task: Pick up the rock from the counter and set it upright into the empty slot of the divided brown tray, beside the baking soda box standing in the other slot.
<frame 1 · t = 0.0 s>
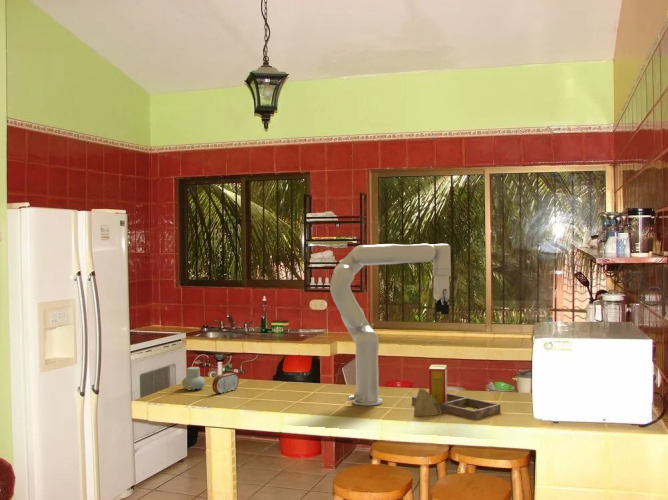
hand: (442, 312, 297), 37 cm above the table, tool pointing down, fingers open, 9 cm apart
divided brown tray: (454, 407, 284), on the table
tin: (226, 392, 319), on the table
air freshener: (193, 389, 326), on the table
baking soda box: (438, 404, 291), resting in divided brown tray
rock: (427, 415, 273), on the table
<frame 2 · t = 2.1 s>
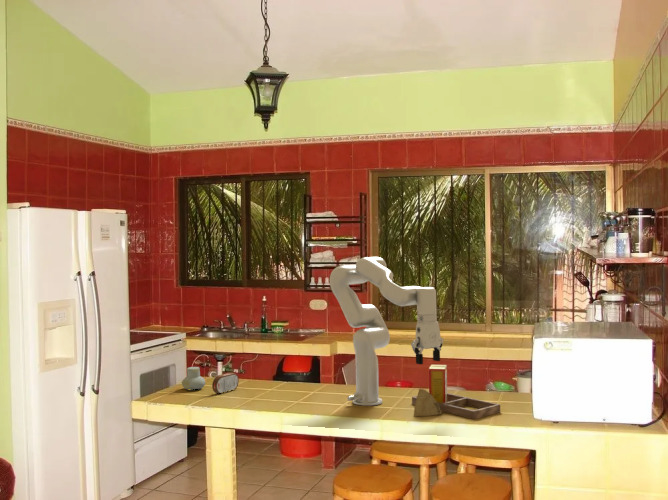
hand: (428, 362, 273), 21 cm above the table, tool pointing down, fingers open, 9 cm apart
nothing on the table moved.
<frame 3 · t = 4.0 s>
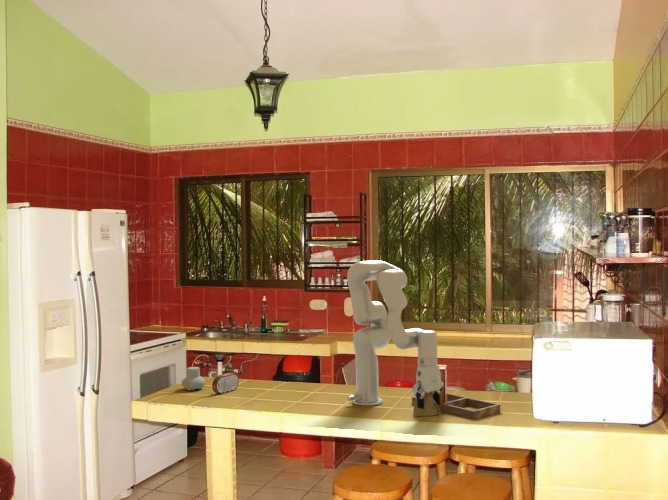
hand: (428, 406, 273), 3 cm above the table, tool pointing down, fingers closed on rock, 8 cm apart
rock: (427, 415, 273), on the table, touching gripper
everything else where it was.
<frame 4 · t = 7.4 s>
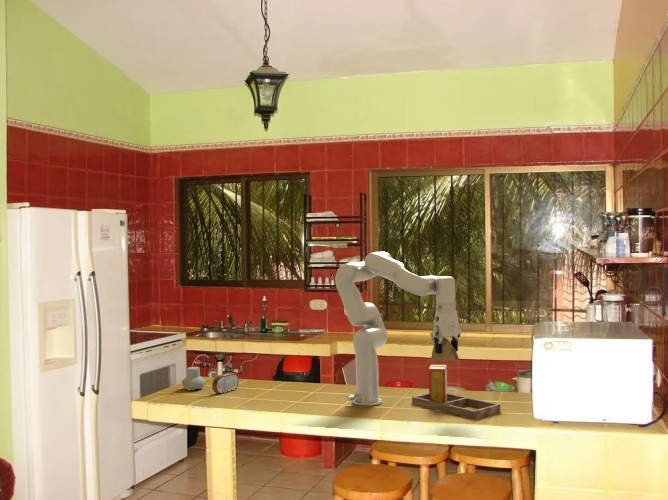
hand: (446, 351, 275), 24 cm above the table, tool pointing down, fingers closed on rock, 8 cm apart
rock: (445, 361, 275), point 21 cm above the table, touching gripper
everything else where it was.
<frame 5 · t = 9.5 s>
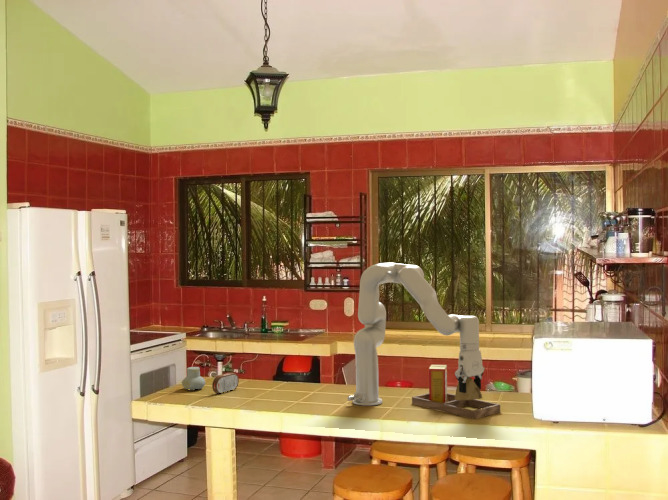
hand: (470, 390, 277), 8 cm above the table, tool pointing down, fingers closed on rock, 8 cm apart
rock: (468, 399, 277), point 5 cm above the table, touching gripper
everything else where it was.
when the fingers open (5 cm above the table, at t = 11.0 s): rock drops 1 cm, resting in divided brown tray.
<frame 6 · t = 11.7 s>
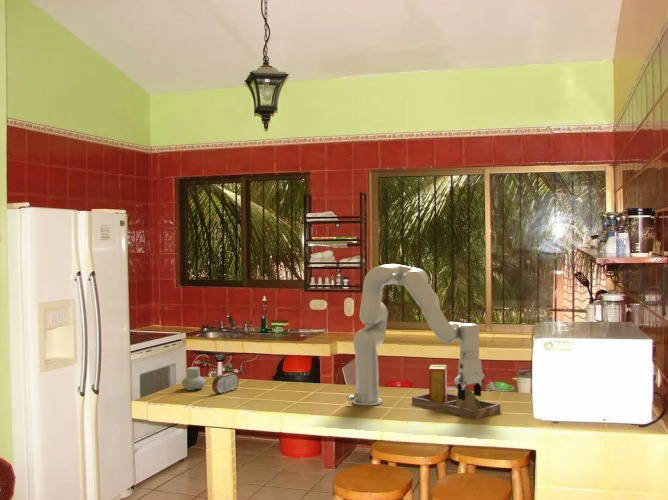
hand: (469, 397, 277), 6 cm above the table, tool pointing down, fingers open, 9 cm apart
rock: (468, 412, 278), resting in divided brown tray
everything else where it was.
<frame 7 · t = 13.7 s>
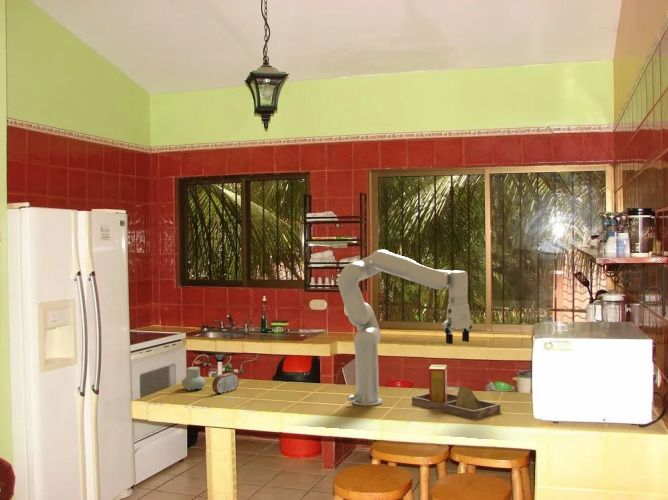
hand: (457, 342, 286), 26 cm above the table, tool pointing down, fingers open, 9 cm apart
nothing on the table moved.
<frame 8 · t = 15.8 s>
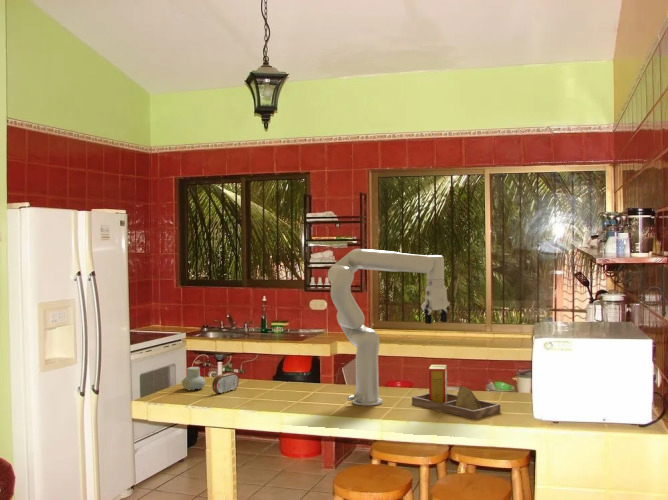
hand: (435, 322, 304), 32 cm above the table, tool pointing down, fingers open, 9 cm apart
nothing on the table moved.
at the end: rock 0.7 cm from the target spot on the divided brown tray, point 0.0 cm above the divided brown tray's base; rock tilted 2°; the gripper is holding nothing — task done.
